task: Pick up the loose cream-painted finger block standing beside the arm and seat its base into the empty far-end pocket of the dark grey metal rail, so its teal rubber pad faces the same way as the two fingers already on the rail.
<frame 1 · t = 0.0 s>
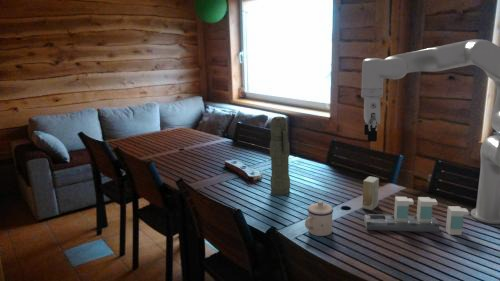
hand: (370, 137, 152), 31 cm above the table, fingers open, 9 cm apart
rail: (400, 226, 148), on the table
finger b: (400, 221, 148), point 2 cm above the table, touching rail
skincare box: (370, 207, 166), on the table
teacup with lid: (317, 232, 147), on the table
finger loose: (453, 232, 143), on the table
finger a: (423, 222, 147), point 2 cm above the table, touching rail
thermos: (280, 192, 185), on the table
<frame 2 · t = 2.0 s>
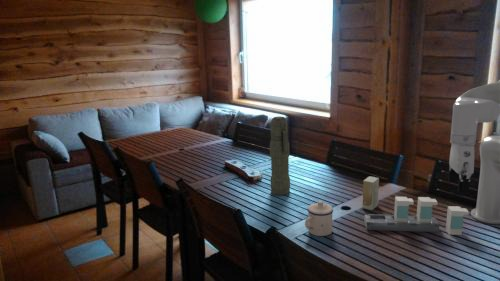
hand: (457, 187, 138), 17 cm above the table, fingers open, 9 cm apart
nothing on the table moved.
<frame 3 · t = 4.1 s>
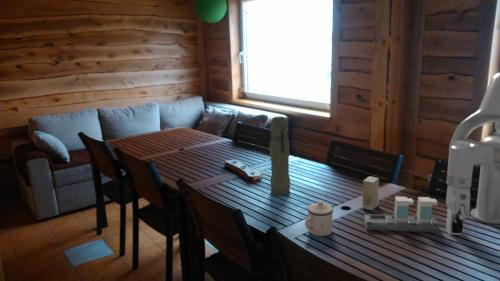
hand: (454, 228, 142), 2 cm above the table, fingers closed on finger loose, 4 cm apart
finger loose: (453, 232, 143), on the table, touching gripper
everything else where it was.
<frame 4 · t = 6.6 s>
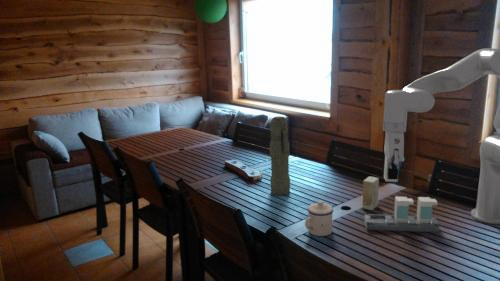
hand: (391, 175, 143), 20 cm above the table, fingers closed on finger loose, 4 cm apart
finger loose: (390, 179, 144), point 19 cm above the table, touching gripper
everything else where it was.
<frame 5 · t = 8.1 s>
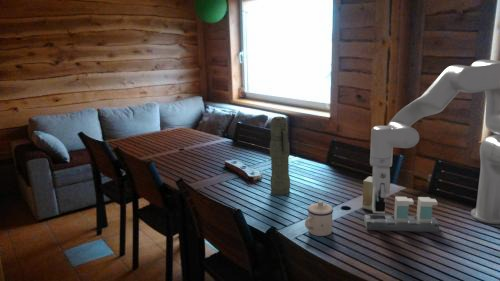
hand: (378, 207, 147), 8 cm above the table, fingers closed on finger loose, 4 cm apart
finger loose: (378, 211, 148), point 6 cm above the table, touching gripper
everything else where it was.
when the fingers open (4 cm above the table, at t = 9.2 s): finger loose stays where it is, resting on rail.
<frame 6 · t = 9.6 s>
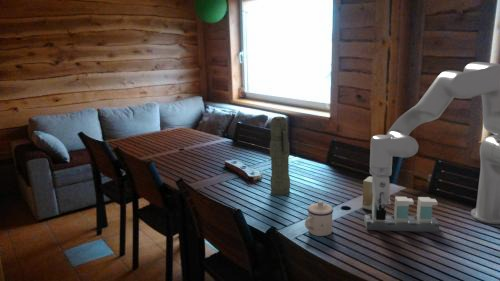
hand: (378, 213, 148), 5 cm above the table, fingers open, 9 cm apart
finger loose: (378, 220, 149), point 2 cm above the table, touching rail
everything else where it was.
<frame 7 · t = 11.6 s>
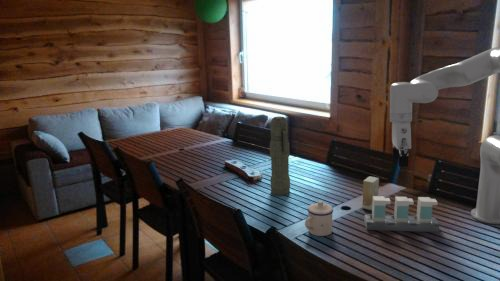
hand: (400, 162, 149), 23 cm above the table, fingers open, 9 cm apart
nothing on the table moved.
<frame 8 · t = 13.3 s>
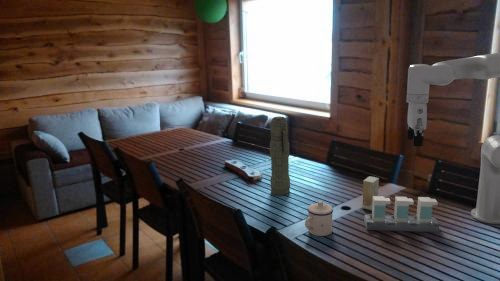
hand: (414, 142, 154), 28 cm above the table, fingers open, 9 cm apart
nothing on the table moved.
at the end: finger loose 0.0 cm from the target spot on the rail, point 2.0 cm above the rail's base; finger loose tilted 0°; the gripper is holding nothing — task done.
